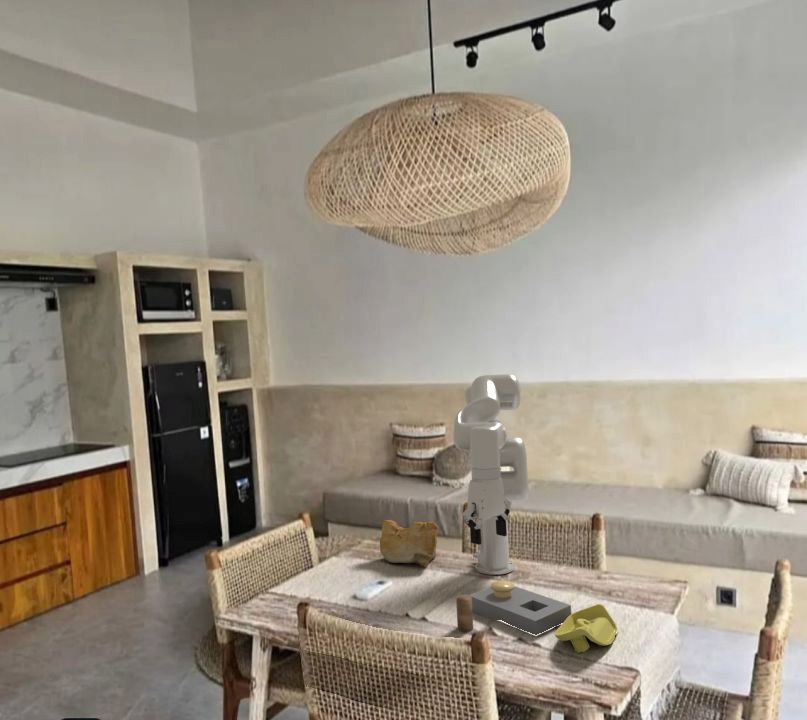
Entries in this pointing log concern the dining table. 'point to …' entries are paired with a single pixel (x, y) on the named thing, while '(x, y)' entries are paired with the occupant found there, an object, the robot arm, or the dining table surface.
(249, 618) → the dining table surface
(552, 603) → the grey block with hole
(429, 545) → the rough brown rock
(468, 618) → the gear shaft
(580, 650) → the plastic component
